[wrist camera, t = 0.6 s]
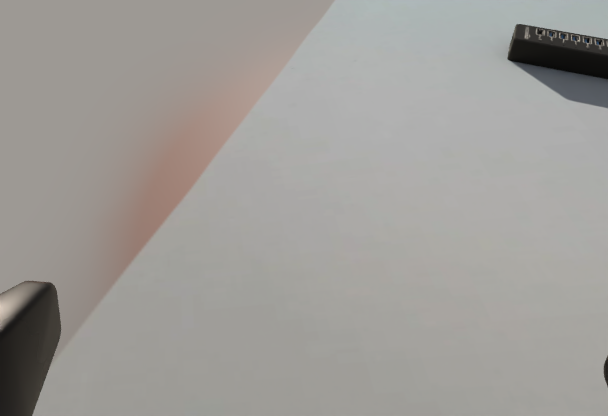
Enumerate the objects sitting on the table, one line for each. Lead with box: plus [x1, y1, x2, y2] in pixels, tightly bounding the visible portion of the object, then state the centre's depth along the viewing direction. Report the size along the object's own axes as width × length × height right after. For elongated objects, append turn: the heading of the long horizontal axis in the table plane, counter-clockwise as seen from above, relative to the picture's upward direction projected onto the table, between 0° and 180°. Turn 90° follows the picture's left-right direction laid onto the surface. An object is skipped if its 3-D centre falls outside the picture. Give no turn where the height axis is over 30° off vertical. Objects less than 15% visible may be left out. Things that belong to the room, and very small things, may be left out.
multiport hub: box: [508, 24, 608, 79], centre depth 57 cm, size 4×11×2 cm, turn 70°
